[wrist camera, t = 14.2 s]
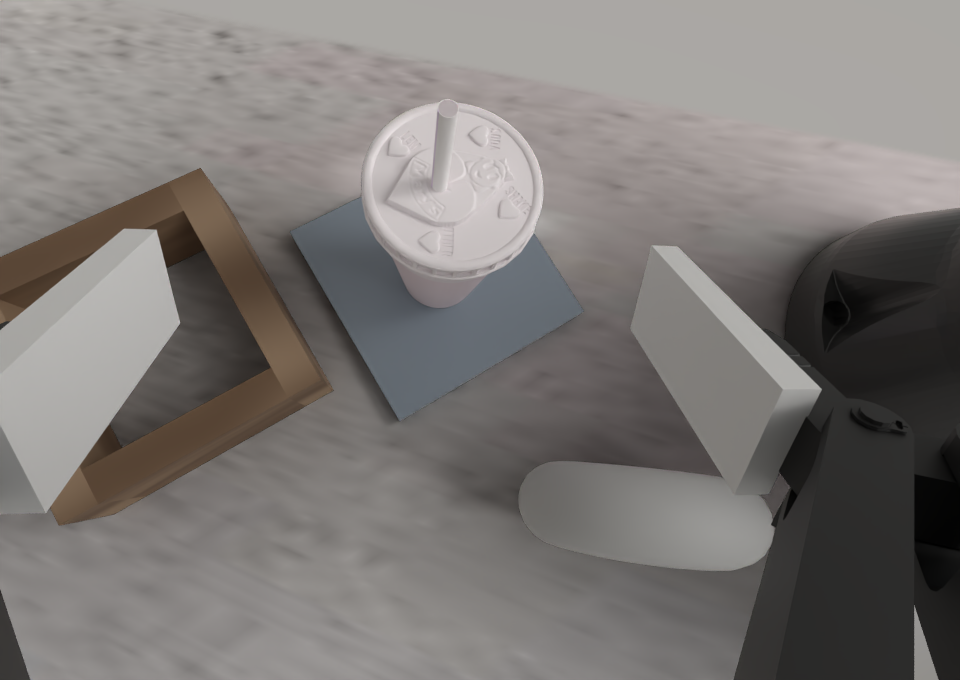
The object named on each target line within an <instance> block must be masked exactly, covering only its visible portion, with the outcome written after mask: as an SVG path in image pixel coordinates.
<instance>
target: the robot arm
mask: <svg viewBox="0 0 960 680" xmlns="http://www.w3.org/2000/svg"><path fill="white" fill-rule="evenodd" d="M179 324H180V320H179V316H178V312H177V308H176V305H175V301H174V297H173V293H172V289H171V285H170V281H169V277H168V273H167V269H166V265H165V261H164V257H163V253H162V249H161V245H160V241H159V238H158V234H157V230H151V229H123V230H122V231H121V232H119V233H118V234H117V235H116V236H115V237H113V238H112V239H111V240H110V241H108V242H107V243H106V244H105V245H104V246H102V247H101V248H100V249H99V250H97V251H96V252H95V253H94V254H93V255H91V256H90V257H89V258H88V259H86V260H85V261H84V262H83V263H82V264H80V265H79V266H78V267H77V268H75V269H74V270H73V271H72V272H71V273H69V274H68V275H67V276H66V277H65V278H63V279H62V280H61V281H60V282H58V283H57V284H56V285H55V286H54V287H52V288H51V289H50V290H49V291H47V292H46V293H45V294H44V295H43V296H41V297H40V298H39V299H38V300H36V301H35V302H34V303H33V304H32V305H30V306H29V307H28V308H27V309H25V310H24V311H23V312H22V313H21V314H19V315H18V316H17V317H16V318H14V319H13V320H12V321H5V322H3V323H1V324H0V514H37V513H46V512H47V511H48V509H49V508H50V507H51V505H52V504H53V502H54V501H55V500H56V498H57V497H58V495H59V494H60V493H61V491H62V490H63V488H64V487H65V485H66V484H67V483H68V481H69V480H70V478H71V477H72V476H73V474H74V473H75V471H76V470H77V468H78V467H79V466H80V464H81V463H82V461H83V460H84V459H85V457H86V456H87V454H88V453H89V452H90V450H91V449H92V447H93V446H94V444H95V443H96V442H97V440H98V439H99V437H100V436H101V435H102V433H103V432H104V430H105V429H106V428H107V426H108V425H109V423H110V422H111V420H112V419H113V418H114V416H115V415H116V413H117V412H118V411H119V409H120V408H121V406H122V405H123V403H124V402H125V401H126V399H127V398H128V396H129V395H130V394H131V392H132V391H133V389H134V388H135V387H136V385H137V384H138V382H139V381H140V379H141V378H142V377H143V375H144V374H145V372H146V371H147V370H148V368H149V367H150V365H151V364H152V362H153V361H154V360H155V358H156V357H157V355H158V354H159V353H160V351H161V350H162V348H163V347H164V346H165V344H166V343H167V341H168V340H169V338H170V337H171V336H172V334H173V333H174V331H175V330H176V329H177V327H178V326H179ZM630 329H631V331H632V333H633V334H634V336H635V337H636V339H637V341H638V342H639V344H640V345H641V347H642V349H643V350H644V352H645V353H646V355H647V357H648V358H649V360H650V361H651V363H652V365H653V366H654V368H655V369H656V371H657V373H658V374H659V376H660V377H661V379H662V381H663V382H664V384H665V385H666V387H667V389H668V390H669V392H670V393H671V395H672V397H673V398H674V400H675V401H676V403H677V404H678V406H679V408H680V409H681V411H682V412H683V414H684V416H685V417H686V419H687V420H688V422H689V424H690V425H691V427H692V428H693V430H694V432H695V433H696V435H697V436H698V438H699V440H700V441H701V443H702V444H703V446H704V448H705V449H706V451H707V452H708V454H709V456H710V457H711V459H712V460H713V462H714V464H715V465H716V467H717V468H718V470H719V471H720V473H721V475H722V476H723V478H724V479H725V481H726V483H727V484H728V486H729V487H730V489H731V491H732V492H733V494H734V495H763V494H769V493H770V491H771V489H772V487H773V485H774V483H775V481H776V479H777V477H778V475H779V473H781V475H782V476H783V477H784V479H785V480H786V481H787V483H788V484H789V485H790V489H789V491H788V493H787V495H786V497H785V499H784V501H783V502H782V504H781V506H780V508H779V510H778V512H777V514H776V516H775V517H774V519H773V521H772V523H771V525H772V526H774V527H776V530H775V533H774V537H773V541H772V544H771V548H770V551H769V555H768V558H767V562H766V566H765V569H764V573H763V576H762V580H761V584H760V587H759V591H758V594H757V598H756V601H755V605H754V609H753V612H752V616H751V619H750V623H749V627H748V630H747V634H746V637H745V641H744V644H743V648H742V652H741V655H740V659H739V662H738V666H737V670H736V673H735V677H734V680H914V605H915V608H916V611H917V614H918V617H919V621H920V624H921V627H922V630H923V633H924V636H925V639H926V642H927V645H928V648H929V651H930V654H931V657H932V661H933V664H934V667H935V670H936V673H937V676H938V679H939V680H960V208H955V209H947V210H940V211H932V212H924V213H917V214H909V215H902V216H896V217H891V218H888V219H884V220H881V221H878V222H875V223H872V224H869V225H867V226H865V227H863V228H861V229H859V230H857V231H855V232H853V233H851V234H849V235H847V236H845V237H843V238H841V239H839V240H837V241H835V242H833V243H832V244H830V245H829V246H827V247H826V248H825V249H823V250H822V251H821V252H820V253H819V254H818V255H817V256H816V257H815V258H814V259H813V260H812V261H811V262H810V263H809V264H808V266H807V267H806V268H805V270H804V271H803V273H802V275H801V276H800V278H799V280H798V282H797V284H796V286H795V288H794V291H793V294H792V297H791V300H790V304H789V308H788V313H787V320H786V340H784V339H782V338H781V337H779V336H777V335H775V334H774V333H772V332H770V331H769V330H767V329H760V328H759V327H758V326H757V325H756V324H755V323H754V322H753V321H752V320H751V319H750V318H749V317H748V316H747V315H746V314H745V313H744V312H743V311H742V310H741V309H740V308H739V307H738V306H737V305H736V304H735V303H734V302H733V301H732V300H731V299H730V298H729V297H728V296H727V295H726V294H725V293H724V292H723V291H722V290H721V289H720V288H719V287H718V286H717V285H716V284H715V283H714V282H713V281H712V280H711V279H710V278H709V277H708V276H707V275H706V274H705V273H704V272H703V271H702V270H701V269H700V268H699V267H698V266H697V265H696V264H695V263H694V262H693V261H692V260H691V259H690V258H689V257H688V256H687V255H686V254H685V253H684V252H683V251H682V250H681V249H680V248H679V247H678V246H656V245H651V249H650V253H649V257H648V261H647V265H646V269H645V273H644V276H643V280H642V284H641V288H640V292H639V296H638V300H637V304H636V308H635V312H634V316H633V320H632V323H631V327H630ZM0 680H30V678H29V675H28V672H27V669H26V666H25V663H24V660H23V657H22V654H21V651H20V648H19V645H18V642H17V639H16V636H15V633H14V630H13V627H12V624H11V621H10V618H9V615H8V612H7V609H6V606H5V603H4V600H3V597H2V594H1V591H0Z"/></svg>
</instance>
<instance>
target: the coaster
mask: <svg viewBox="0 0 960 680" xmlns="http://www.w3.org/2000/svg"><path fill="white" fill-rule="evenodd" d="M290 233H291V235H292V237H293V239H294V241H295V242H296V244H297V246H298V247H299V249H300V251H301V253H302V254H303V256H304V258H305V259H306V261H307V263H308V265H309V266H310V268H311V270H312V272H313V273H314V275H315V277H316V278H317V280H318V282H319V284H320V285H321V287H322V289H323V290H324V292H325V294H326V296H327V297H328V299H329V301H330V303H331V304H332V306H333V308H334V309H335V311H336V313H337V315H338V316H339V318H340V320H341V321H342V323H343V325H344V327H345V328H346V330H347V332H348V334H349V335H350V337H351V339H352V340H353V342H354V344H355V346H356V347H357V349H358V351H359V352H360V354H361V356H362V358H363V359H364V361H365V363H366V365H367V366H368V368H369V370H370V371H371V373H372V375H373V377H374V378H375V380H376V382H377V383H378V385H379V387H380V389H381V390H382V392H383V394H384V396H385V397H386V399H387V401H388V402H389V404H390V406H391V408H392V409H393V411H394V413H395V414H396V416H397V418H398V420H399V421H402V420H404V419H405V418H407V417H409V416H410V415H412V414H414V413H415V412H417V411H419V410H420V409H422V408H424V407H425V406H427V405H429V404H431V403H432V402H434V401H436V400H437V399H439V398H441V397H442V396H444V395H446V394H447V393H449V392H451V391H452V390H454V389H456V388H457V387H459V386H461V385H462V384H464V383H466V382H468V381H469V380H471V379H473V378H474V377H476V376H478V375H479V374H481V373H483V372H484V371H486V370H488V369H489V368H491V367H493V366H494V365H496V364H498V363H500V362H501V361H503V360H505V359H506V358H508V357H510V356H511V355H513V354H515V353H516V352H518V351H520V350H521V349H523V348H525V347H526V346H528V345H530V344H531V343H533V342H535V341H537V340H538V339H540V338H542V337H543V336H545V335H547V334H548V333H550V332H552V331H553V330H555V329H557V328H558V327H560V326H562V325H563V324H565V323H567V322H568V321H570V320H572V319H574V318H575V317H577V316H579V315H580V314H581V313H582V312H584V311H583V309H582V307H581V306H580V304H579V303H578V301H577V300H576V298H575V296H574V295H573V293H572V292H571V290H570V289H569V287H568V285H567V284H566V282H565V281H564V279H563V278H562V276H561V275H560V273H559V271H558V270H557V268H556V267H555V265H554V264H553V262H552V260H551V259H550V257H549V256H548V254H547V253H546V251H545V249H544V248H543V246H542V245H541V243H540V242H539V240H538V239H537V237H536V235H535V234H534V233H533V235H532V237H531V238H530V240H529V241H528V243H527V244H526V246H525V247H524V249H523V250H522V252H521V253H520V254H519V255H517V256H516V257H515V258H514V259H513V260H511V261H510V262H509V263H508V264H507V265H505V266H504V267H503V268H500V269H498V270H496V271H494V272H492V273H489V274H488V275H487V276H486V277H485V278H484V279H483V280H482V281H481V282H480V283H479V284H478V285H477V286H476V287H475V288H474V289H473V290H472V291H471V292H470V293H469V294H468V295H467V296H466V297H465V298H464V299H463V300H462V301H461V302H459V303H458V304H456V305H453V306H451V307H447V308H433V307H429V306H426V305H423V304H422V303H420V302H418V301H417V300H416V299H414V298H413V297H412V296H411V294H410V293H409V292H408V290H407V288H406V286H405V284H404V282H403V280H402V278H401V275H400V273H399V271H398V269H397V267H396V264H395V262H394V260H393V258H392V257H391V256H390V255H389V253H388V252H387V251H386V250H385V249H384V248H383V247H382V246H381V244H380V243H379V242H378V241H377V240H376V239H375V237H374V235H373V233H372V231H371V229H370V227H369V225H368V223H367V221H366V219H365V214H364V209H363V203H362V198H361V197H360V198H358V199H356V200H354V201H352V202H349V203H347V204H345V205H343V206H341V207H339V208H337V209H335V210H333V211H331V212H329V213H327V214H325V215H323V216H321V217H319V218H317V219H315V220H313V221H311V222H309V223H306V224H304V225H302V226H300V227H298V228H296V229H294V230H292V231H290Z"/></svg>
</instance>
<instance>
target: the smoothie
mask: <svg viewBox="0 0 960 680" xmlns="http://www.w3.org/2000/svg"><path fill="white" fill-rule="evenodd" d="M361 190H362V193H361V198H362V203H363V209H364V214H365V219H366V221H367V223H368V225H369V227H370V229H371V231H372V233H373V235H374V237H375V239H376V240H377V241H378V242H379V243H380V244H381V246H382V247H383V248H384V249H385V250H386V251H387V252H388V253H389V255H390V256H391V257H392V258H393V260H394V262H395V264H396V267H397V269H398V271H399V273H400V275H401V278H402V280H403V282H404V284H405V286H406V288H407V290H408V292H409V293H410V294H411V296H412V297H413V298H414V299H416V300H417V301H418V302H420V303H422V304H423V305H426V306H429V307H433V308H447V307H451V306H453V305H456V304H458V303H459V302H461V301H462V300H463V299H464V298H465V297H466V296H467V295H468V294H469V293H470V292H471V291H472V290H473V289H474V288H475V287H476V286H477V285H478V284H479V283H480V282H481V281H482V280H483V279H484V278H485V277H486V276H487V275H488V274H489V273H492V272H494V271H496V270H498V269H500V268H503V267H504V266H505V265H507V264H508V263H509V262H510V261H511V260H513V259H514V258H515V257H516V256H517V255H519V254H520V253H521V252H522V250H523V249H524V247H525V246H526V244H527V243H528V241H529V240H530V238H531V237H532V235H533V233H534V230H535V227H536V223H537V221H538V219H539V216H540V212H541V209H542V204H543V194H544V191H543V179H542V174H541V169H540V166H539V163H538V161H537V159H536V156H535V154H534V152H533V151H532V149H531V147H530V146H529V144H528V143H527V141H526V140H525V139H524V138H523V136H522V135H521V134H520V133H519V132H518V131H517V130H516V129H515V128H514V127H513V126H511V125H510V124H509V123H508V122H506V121H505V120H504V119H502V118H501V117H499V116H497V115H495V114H494V113H492V112H489V111H487V110H485V109H482V108H479V107H477V106H473V105H469V104H463V103H456V102H455V101H453V100H451V99H444V100H442V101H440V102H439V103H431V104H426V105H422V106H419V107H416V108H413V109H410V110H408V111H406V112H404V113H402V114H400V115H399V116H397V117H396V118H394V119H393V120H392V121H390V122H389V123H388V124H387V125H386V126H385V127H384V128H383V129H382V130H381V131H380V132H379V133H378V134H377V136H376V137H375V139H374V140H373V142H372V143H371V145H370V147H369V149H368V151H367V154H366V156H365V159H364V163H363V167H362V174H361Z"/></svg>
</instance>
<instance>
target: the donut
mask: <svg viewBox="0 0 960 680" xmlns="http://www.w3.org/2000/svg"><path fill="white" fill-rule="evenodd" d="M518 500H519V510H520V513H521V516H522V518H523V521H524V523H525V524H526V526H527V527H528V528H529V530H530V531H531V532H532V533H533V535H535V536H536V537H538V538H539V539H541V540H542V541H544V542H546V543H548V544H551V545H553V546H556V547H559V548H563V549H567V550H571V551H575V552H578V553H582V554H586V555H591V556H596V557H601V558H606V559H611V560H617V561H623V562H629V563H636V564H642V565H650V566H658V567H666V568H675V569H689V570H704V571H733V570H736V569H740V568H743V567H746V566H749V565H752V564H755V563H756V562H757V561H758V560H760V559H761V558H762V557H763V556H765V554H766V553H767V551H768V549H769V547H770V546H771V544H772V540H773V534H774V526H772V525H771V523H772V521H773V519H772V514H771V512H770V510H769V508H768V506H767V504H766V502H765V501H764V499H763V498H762V497H761V496H760V495H734V494H733V492H732V491H731V489H730V487H729V486H728V484H727V483H726V481H725V479H724V478H723V477H719V476H712V475H705V474H698V473H690V472H682V471H673V470H664V469H655V468H645V467H635V466H625V465H614V464H603V463H590V462H576V461H553V462H547V463H544V464H542V465H539V466H537V467H536V468H534V469H533V470H532V471H531V472H530V473H528V474H527V476H526V478H525V479H524V481H523V483H522V484H521V488H520V492H519V496H518Z"/></svg>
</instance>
